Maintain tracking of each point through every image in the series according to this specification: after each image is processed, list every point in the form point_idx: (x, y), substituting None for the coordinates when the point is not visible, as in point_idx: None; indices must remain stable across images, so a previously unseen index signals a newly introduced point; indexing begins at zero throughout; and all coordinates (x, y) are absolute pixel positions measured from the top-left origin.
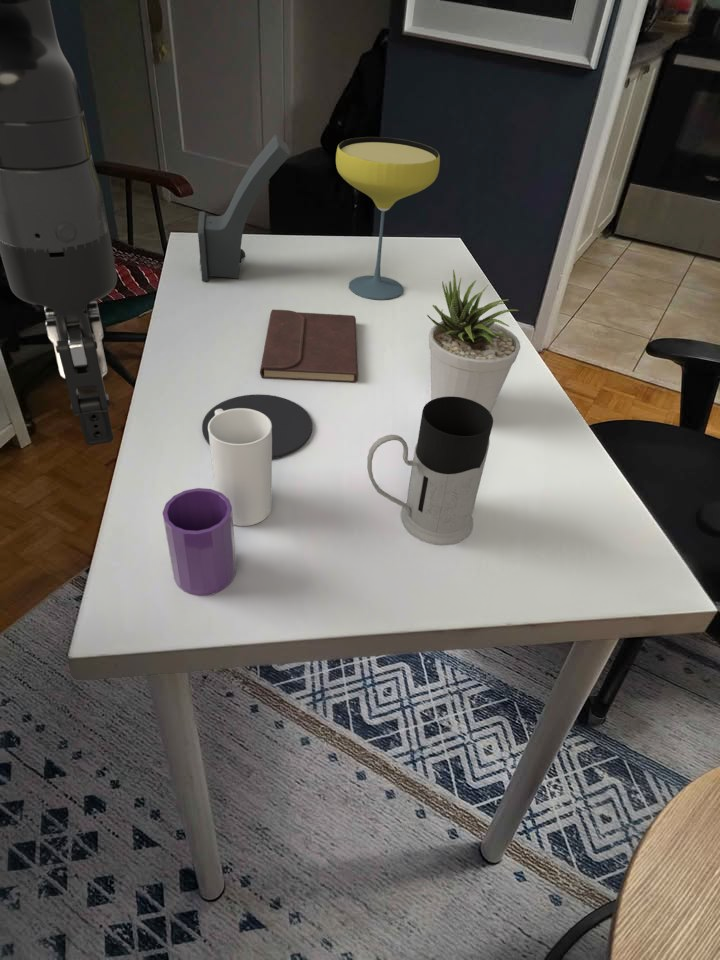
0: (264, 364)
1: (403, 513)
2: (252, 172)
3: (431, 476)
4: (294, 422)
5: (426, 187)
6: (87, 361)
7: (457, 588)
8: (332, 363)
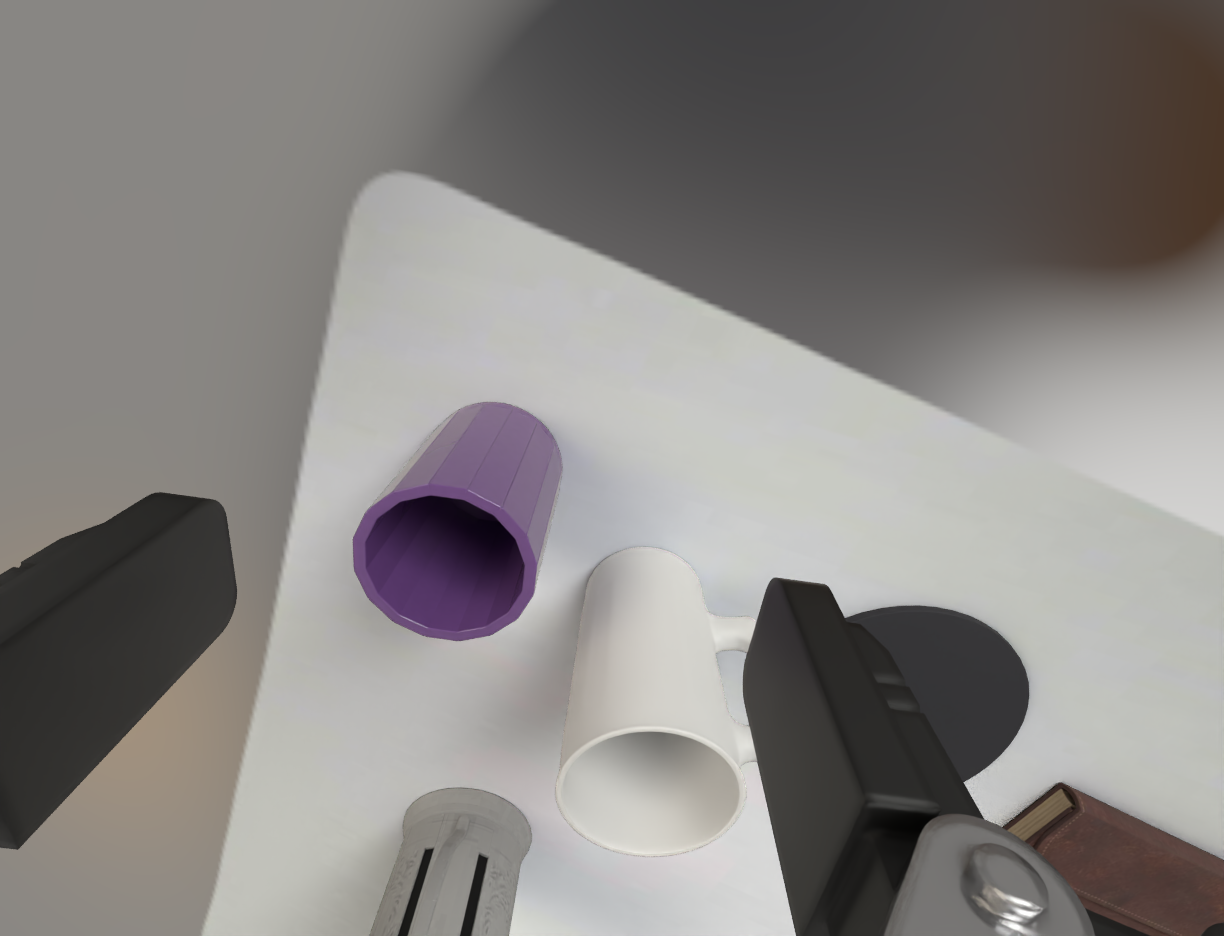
0: (1087, 818)
1: (490, 806)
2: None
3: None
4: None
5: None
6: (802, 811)
7: (311, 784)
8: None
